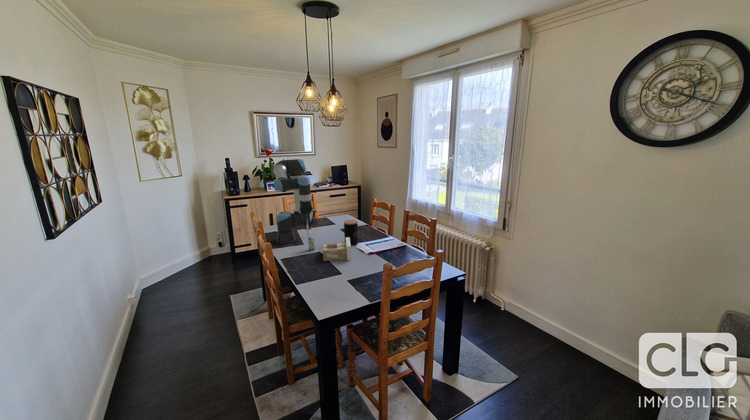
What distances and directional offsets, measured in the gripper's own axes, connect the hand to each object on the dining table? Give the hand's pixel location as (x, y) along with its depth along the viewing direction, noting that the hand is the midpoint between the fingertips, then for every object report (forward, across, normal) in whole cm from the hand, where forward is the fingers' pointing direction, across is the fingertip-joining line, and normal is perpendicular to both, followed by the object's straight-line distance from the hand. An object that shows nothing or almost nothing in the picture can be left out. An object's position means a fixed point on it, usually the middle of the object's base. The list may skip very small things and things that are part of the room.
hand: (308, 233), depth 198 cm
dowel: (+18, 0, +14) cm, 22 cm away
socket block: (+17, +17, 0) cm, 25 cm away
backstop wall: (+18, +27, 0) cm, 32 cm away
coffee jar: (+18, +30, +22) cm, 41 cm away
